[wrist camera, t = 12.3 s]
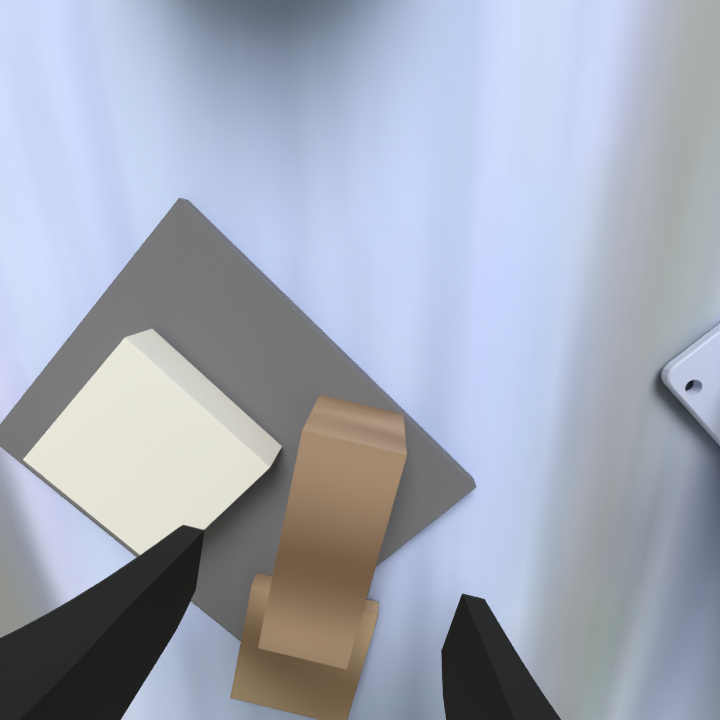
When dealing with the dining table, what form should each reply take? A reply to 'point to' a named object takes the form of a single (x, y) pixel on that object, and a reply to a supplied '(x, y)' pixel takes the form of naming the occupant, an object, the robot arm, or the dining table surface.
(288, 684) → the overlapping tan boards
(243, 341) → the mat
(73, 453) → the block
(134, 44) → the dining table surface
